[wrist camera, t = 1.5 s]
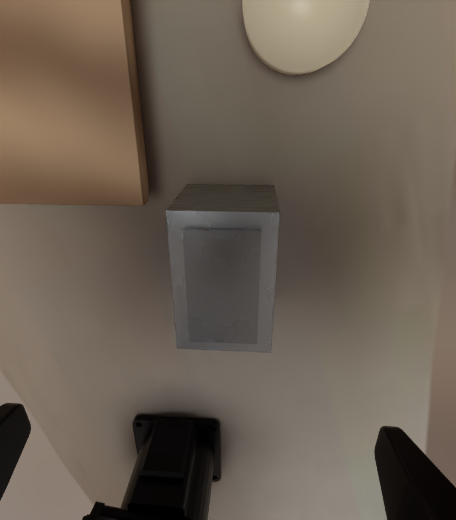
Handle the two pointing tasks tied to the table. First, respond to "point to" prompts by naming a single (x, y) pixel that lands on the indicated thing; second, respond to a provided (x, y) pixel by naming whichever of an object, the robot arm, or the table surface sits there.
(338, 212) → the table surface
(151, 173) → the table surface
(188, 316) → the housing
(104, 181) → the tan flat board
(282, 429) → the table surface
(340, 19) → the cream rounded piece
